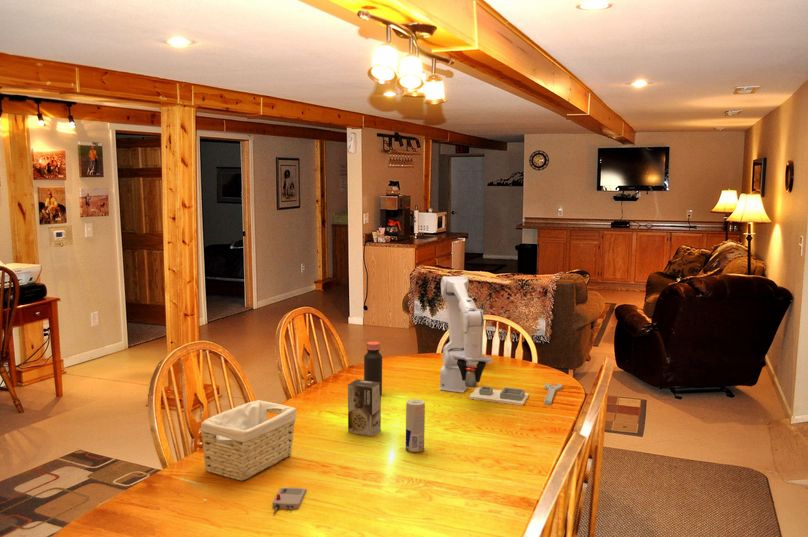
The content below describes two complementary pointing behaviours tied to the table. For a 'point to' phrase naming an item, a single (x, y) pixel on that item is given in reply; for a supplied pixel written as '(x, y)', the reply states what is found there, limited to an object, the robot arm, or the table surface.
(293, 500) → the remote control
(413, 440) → the beverage can
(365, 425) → the coffee box
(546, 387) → the adjustable wrench
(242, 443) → the storage basket
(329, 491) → the table surface
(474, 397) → the socket board
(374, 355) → the bottle
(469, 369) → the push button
